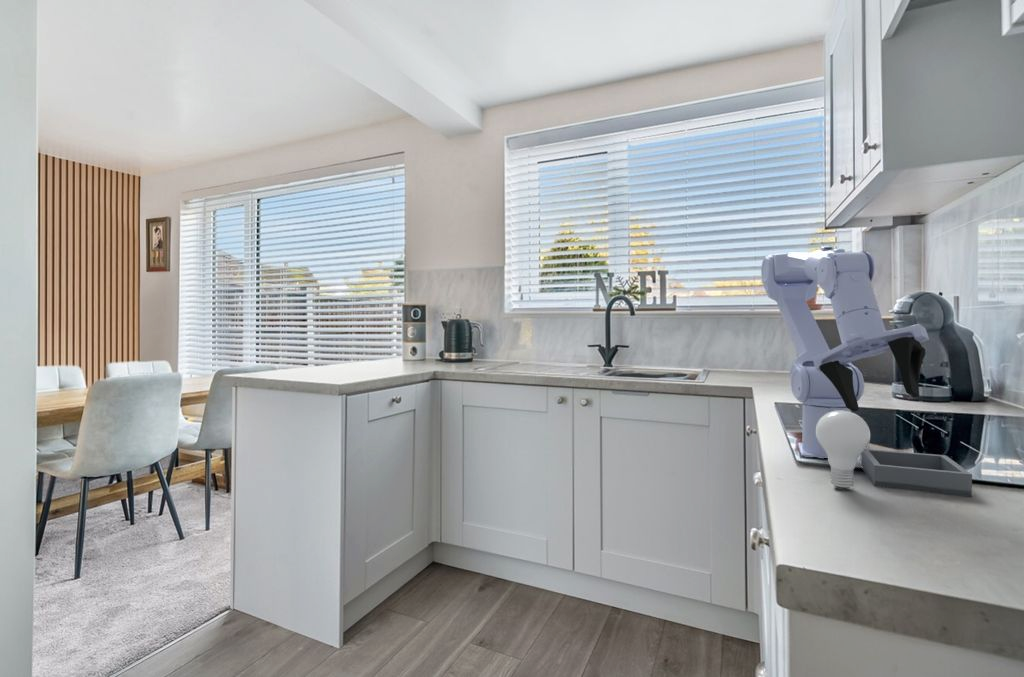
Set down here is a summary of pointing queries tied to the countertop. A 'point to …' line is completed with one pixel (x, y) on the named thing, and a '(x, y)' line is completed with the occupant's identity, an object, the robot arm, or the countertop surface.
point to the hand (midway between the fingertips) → (881, 402)
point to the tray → (916, 472)
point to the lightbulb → (842, 444)
